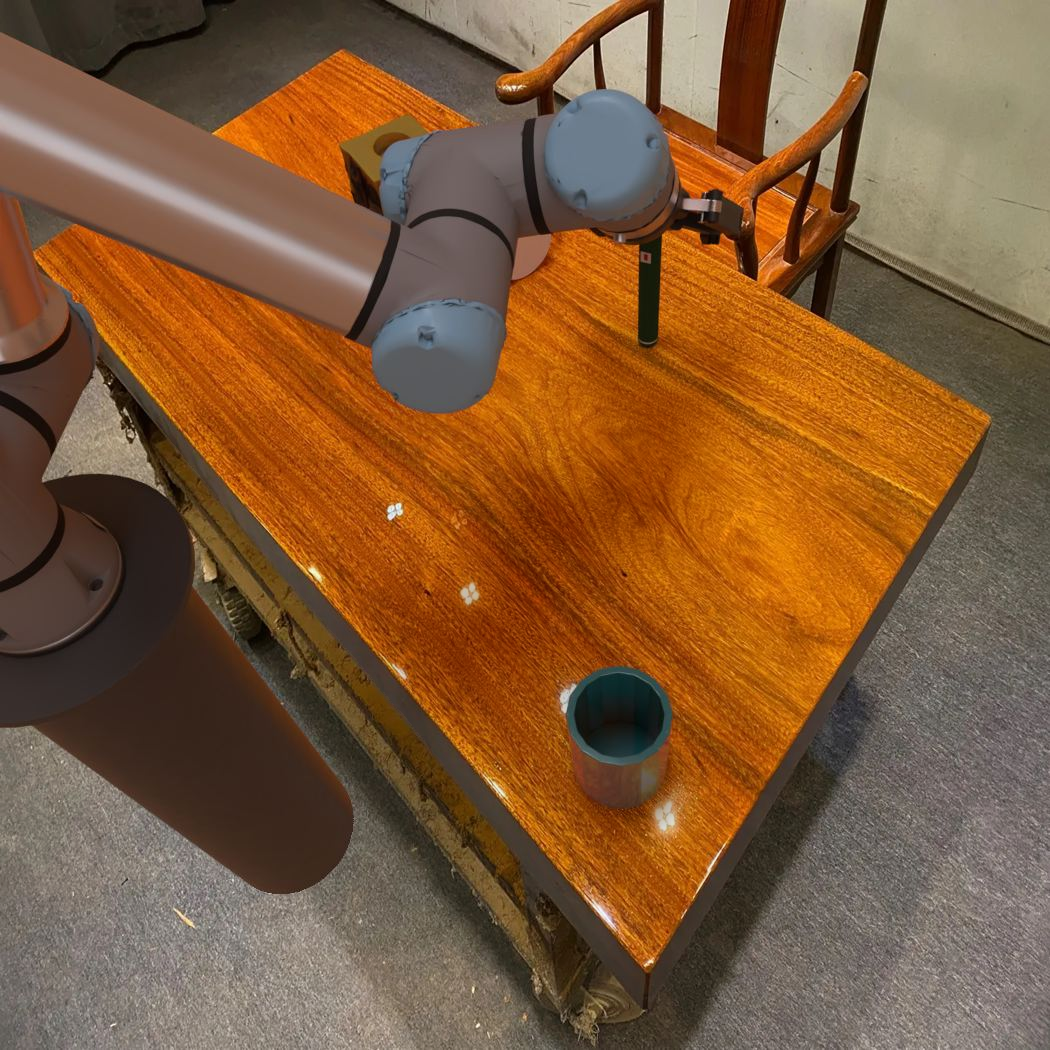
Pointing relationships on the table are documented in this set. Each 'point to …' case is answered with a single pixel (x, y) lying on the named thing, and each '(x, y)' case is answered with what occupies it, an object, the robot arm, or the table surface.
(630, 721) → the cup
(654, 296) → the flashlight
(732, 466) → the table surface
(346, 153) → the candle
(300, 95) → the table surface
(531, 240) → the mug
